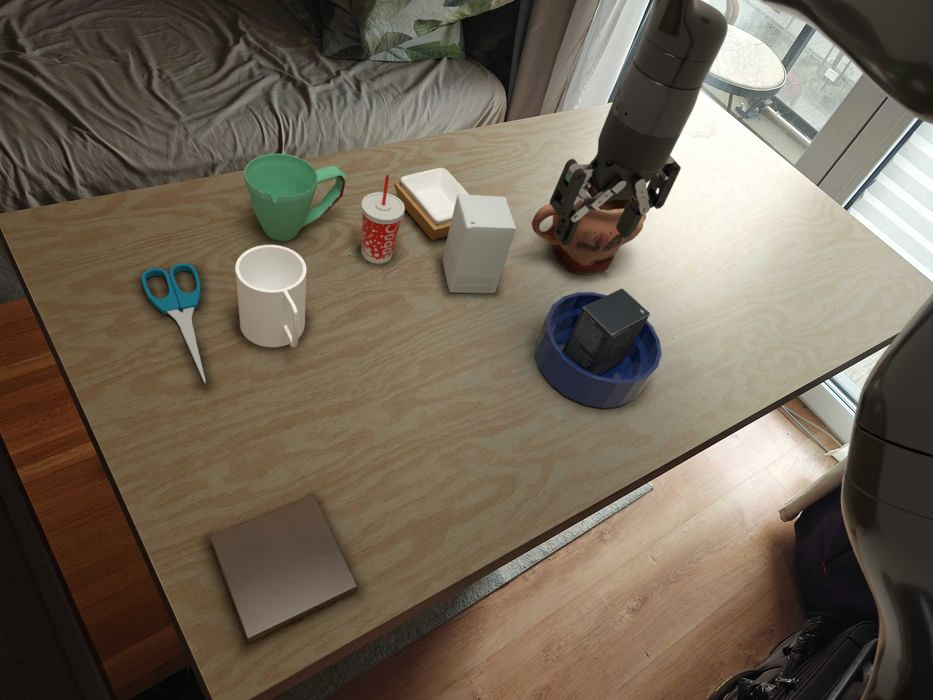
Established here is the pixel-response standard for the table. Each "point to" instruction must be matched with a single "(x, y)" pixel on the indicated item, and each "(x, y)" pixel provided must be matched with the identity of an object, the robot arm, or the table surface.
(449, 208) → the soap dish
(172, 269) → the scissors
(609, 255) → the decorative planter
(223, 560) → the board
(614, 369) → the bowl
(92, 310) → the table surface
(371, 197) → the beverage cup
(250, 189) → the mug
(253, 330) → the cup
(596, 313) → the box
